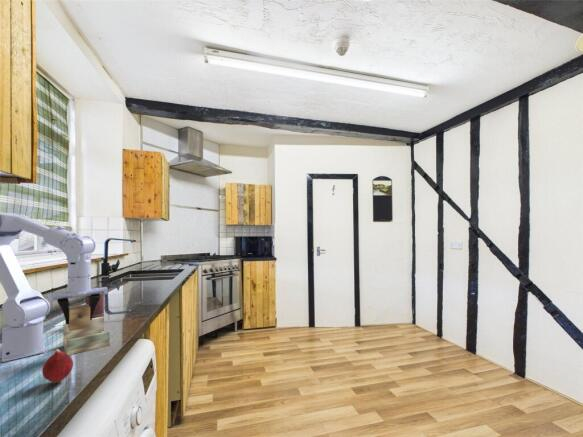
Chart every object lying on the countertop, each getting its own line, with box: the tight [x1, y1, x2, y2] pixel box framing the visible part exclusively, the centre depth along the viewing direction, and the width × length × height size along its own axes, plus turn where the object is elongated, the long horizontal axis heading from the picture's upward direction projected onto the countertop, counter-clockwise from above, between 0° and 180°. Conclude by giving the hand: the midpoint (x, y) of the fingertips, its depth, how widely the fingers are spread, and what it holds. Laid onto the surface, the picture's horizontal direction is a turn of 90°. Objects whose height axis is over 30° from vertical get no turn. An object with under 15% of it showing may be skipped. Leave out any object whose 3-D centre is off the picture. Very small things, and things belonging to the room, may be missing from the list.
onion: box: [41, 348, 74, 384], centre depth 71 cm, size 6×6×8 cm
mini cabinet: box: [68, 303, 90, 331], centre depth 89 cm, size 5×6×6 cm
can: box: [85, 286, 105, 318], centre depth 116 cm, size 6×6×14 cm
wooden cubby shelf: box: [62, 316, 111, 356], centre depth 94 cm, size 11×10×7 cm
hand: (78, 321), depth 89 cm, fingers closed on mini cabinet, 5 cm apart
